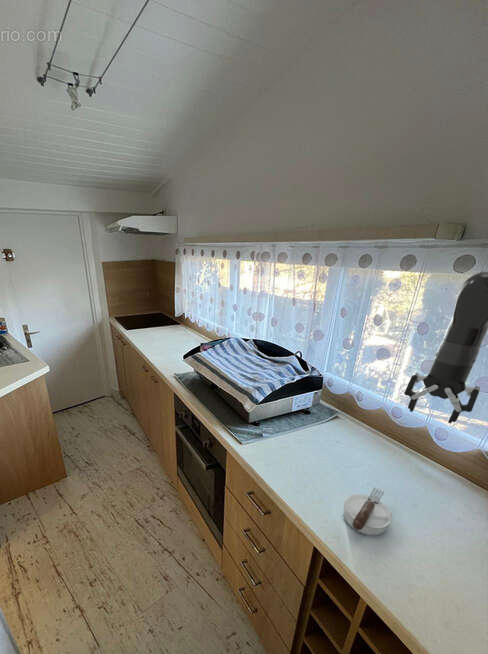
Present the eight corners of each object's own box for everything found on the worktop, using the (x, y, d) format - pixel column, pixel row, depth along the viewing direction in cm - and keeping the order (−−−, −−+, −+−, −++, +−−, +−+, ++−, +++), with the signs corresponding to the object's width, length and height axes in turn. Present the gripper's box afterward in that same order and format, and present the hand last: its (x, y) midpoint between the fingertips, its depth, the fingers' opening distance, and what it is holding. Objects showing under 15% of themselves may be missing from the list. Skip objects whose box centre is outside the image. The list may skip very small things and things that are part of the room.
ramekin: (366, 547, 76) (371, 533, 74) (331, 515, 85) (335, 501, 83) (396, 531, 80) (402, 518, 78) (359, 502, 89) (364, 489, 87)
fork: (373, 488, 87) (376, 482, 86) (383, 493, 85) (386, 486, 84) (349, 528, 75) (351, 521, 74) (360, 534, 74) (362, 527, 73)
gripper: (494, 362, 72) (465, 420, 80) (422, 349, 81) (403, 402, 89) (491, 371, 67) (461, 432, 75) (416, 356, 76) (396, 412, 84)
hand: (430, 416), depth 82 cm, fingers open, 8 cm apart
